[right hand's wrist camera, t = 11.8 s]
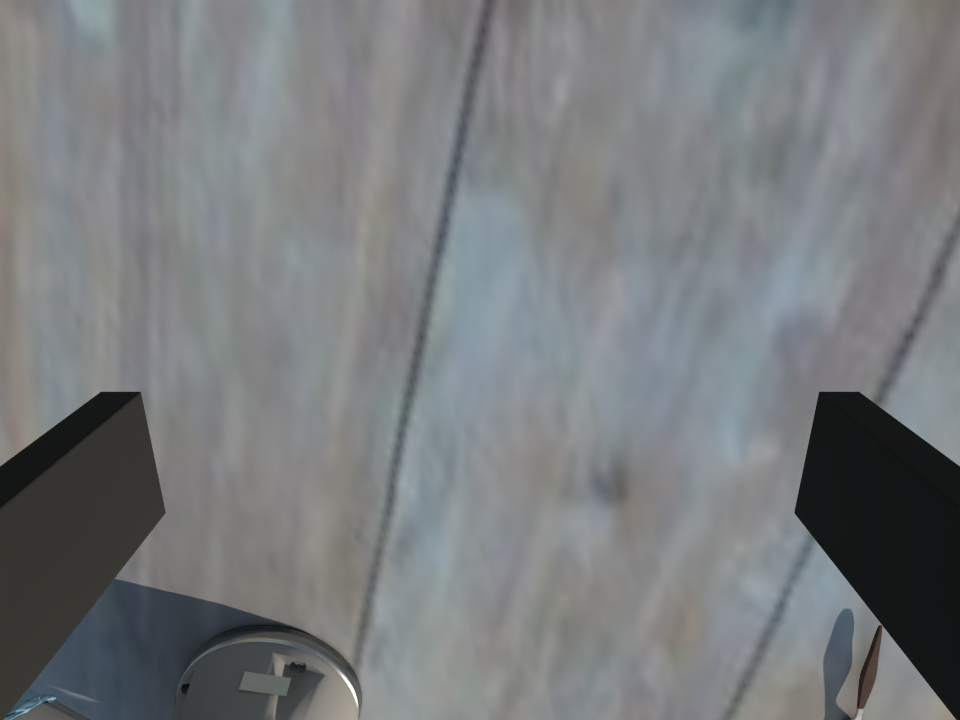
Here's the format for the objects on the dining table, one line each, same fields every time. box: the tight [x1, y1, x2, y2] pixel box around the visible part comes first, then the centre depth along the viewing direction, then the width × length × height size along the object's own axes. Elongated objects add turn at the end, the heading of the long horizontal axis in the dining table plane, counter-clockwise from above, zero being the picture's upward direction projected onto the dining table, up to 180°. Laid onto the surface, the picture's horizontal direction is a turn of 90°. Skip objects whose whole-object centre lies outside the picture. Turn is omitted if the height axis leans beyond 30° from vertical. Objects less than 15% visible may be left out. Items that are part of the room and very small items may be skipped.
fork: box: [850, 625, 882, 720], centre depth 55 cm, size 3×16×2 cm, turn 2°
